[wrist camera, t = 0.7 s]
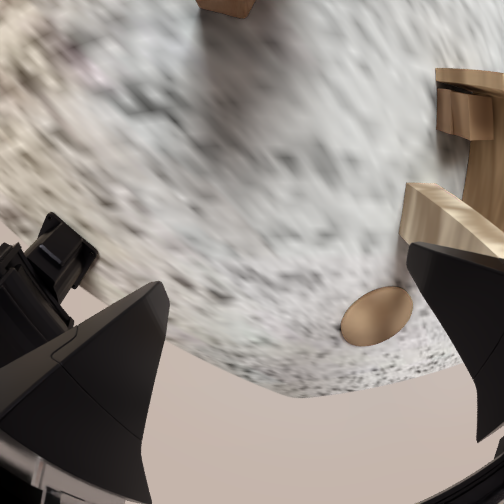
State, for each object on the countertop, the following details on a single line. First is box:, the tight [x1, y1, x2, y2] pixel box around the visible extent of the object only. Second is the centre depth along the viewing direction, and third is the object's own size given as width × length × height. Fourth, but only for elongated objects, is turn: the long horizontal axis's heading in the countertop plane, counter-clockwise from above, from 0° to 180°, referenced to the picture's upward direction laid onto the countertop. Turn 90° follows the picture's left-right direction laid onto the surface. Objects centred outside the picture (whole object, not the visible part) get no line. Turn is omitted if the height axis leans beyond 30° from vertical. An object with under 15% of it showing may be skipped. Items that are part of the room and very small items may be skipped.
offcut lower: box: [436, 88, 456, 135], centre depth 16 cm, size 4×4×2 cm
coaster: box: [341, 287, 413, 346], centre depth 29 cm, size 9×9×1 cm
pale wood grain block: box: [399, 183, 504, 259], centre depth 17 cm, size 4×5×12 cm
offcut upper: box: [450, 92, 493, 140], centre depth 14 cm, size 3×4×2 cm
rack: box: [436, 68, 504, 233], centre depth 16 cm, size 6×17×8 cm, turn 4°
